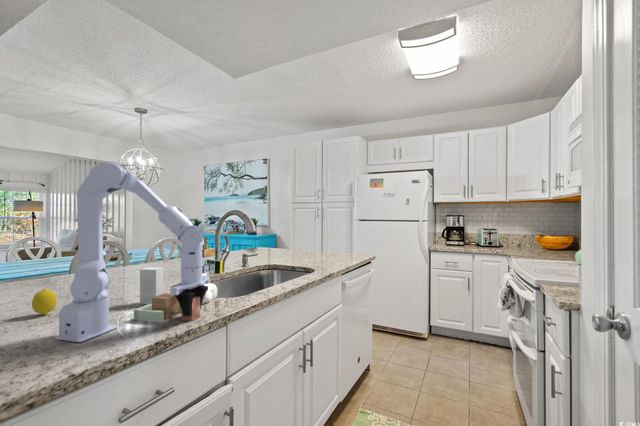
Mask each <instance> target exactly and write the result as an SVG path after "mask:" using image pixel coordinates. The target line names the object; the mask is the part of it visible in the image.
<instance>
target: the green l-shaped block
mask: <svg viewBox="0 0 640 426" xmlns="http://www.w3.org/2000/svg"><path fill="white" fill-rule="evenodd" d="M179 311H182V310H181V306H180V304H179ZM133 320H134V321H138V322H148V323H156V324H159V323H160V324H162V323H163V322H165V319H164V311H160V310H152V303H151V304H145V305H144V306H141V307H138V308H135V309H134V310H133Z"/></svg>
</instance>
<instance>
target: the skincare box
mask: <svg viewBox="0 0 640 426" xmlns="http://www.w3.org/2000/svg"><path fill="white" fill-rule="evenodd" d="M161 294H164V267H144V268H141V269H139V305H149V304H151V303H152V297H155V296H158V295H161Z"/></svg>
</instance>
